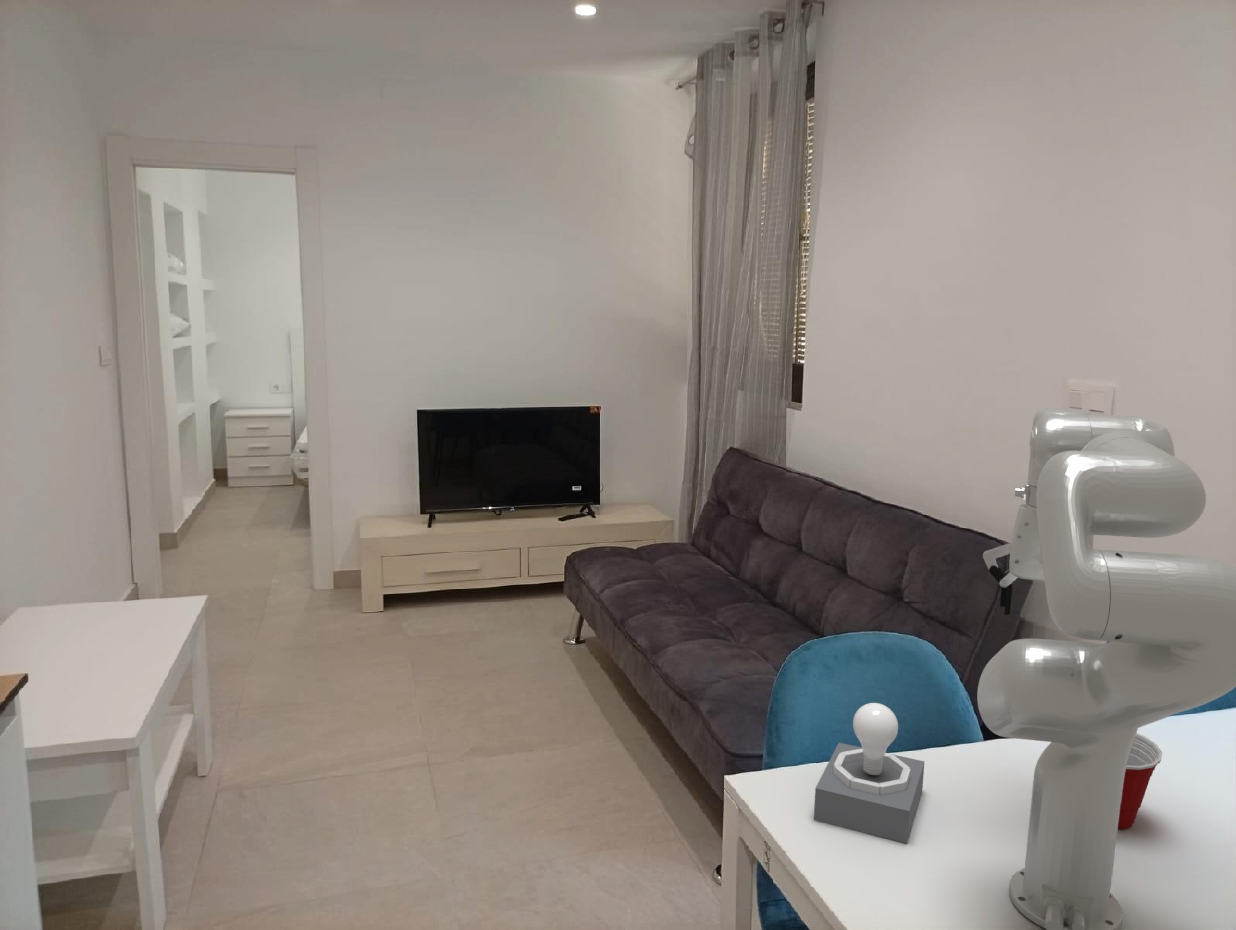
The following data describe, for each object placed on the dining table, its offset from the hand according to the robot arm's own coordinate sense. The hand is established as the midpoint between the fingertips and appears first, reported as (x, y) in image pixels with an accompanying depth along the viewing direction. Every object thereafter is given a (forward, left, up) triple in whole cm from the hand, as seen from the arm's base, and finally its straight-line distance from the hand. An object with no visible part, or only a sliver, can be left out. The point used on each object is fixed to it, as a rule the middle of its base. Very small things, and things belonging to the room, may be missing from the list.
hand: (1044, 617), depth 125 cm
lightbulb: (-8, +21, -26) cm, 34 cm away
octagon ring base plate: (-7, +21, -30) cm, 37 cm away
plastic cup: (+4, -11, -31) cm, 33 cm away
